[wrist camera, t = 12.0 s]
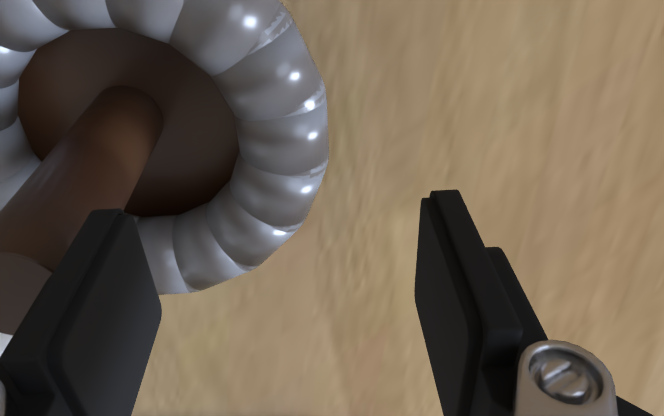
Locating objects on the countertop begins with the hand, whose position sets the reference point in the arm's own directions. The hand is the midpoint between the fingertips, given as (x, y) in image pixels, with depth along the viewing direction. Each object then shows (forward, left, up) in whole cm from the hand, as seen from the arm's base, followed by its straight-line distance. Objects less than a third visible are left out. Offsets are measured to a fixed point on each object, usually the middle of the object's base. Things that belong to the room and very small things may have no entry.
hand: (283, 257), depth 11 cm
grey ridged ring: (-5, 0, -7) cm, 9 cm away
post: (-6, 0, -10) cm, 11 cm away
